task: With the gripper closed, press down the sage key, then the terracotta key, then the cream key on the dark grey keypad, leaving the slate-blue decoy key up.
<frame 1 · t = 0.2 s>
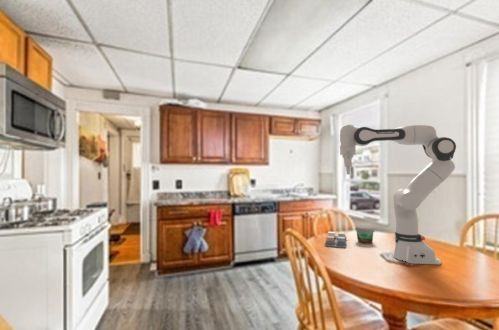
hand: (348, 174, 163), 48 cm above the table, fingers open, 8 cm apart
keypad base: (336, 242, 187), on the table
cream key: (331, 234, 195), point 4 cm above the table, slide at 0.0 cm
terracotta key: (330, 238, 182), point 4 cm above the table, slide at 0.0 cm
food container: (365, 243, 185), on the table
sage key: (341, 234, 193), point 4 cm above the table, slide at 0.0 cm
slate key: (341, 239, 179), point 4 cm above the table, slide at 0.0 cm
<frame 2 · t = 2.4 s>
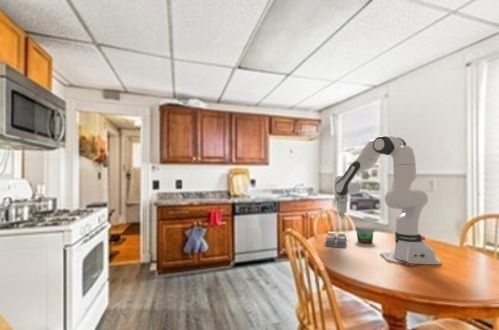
hand: (341, 217, 193), 16 cm above the table, fingers open, 6 cm apart
nothing on the table moved.
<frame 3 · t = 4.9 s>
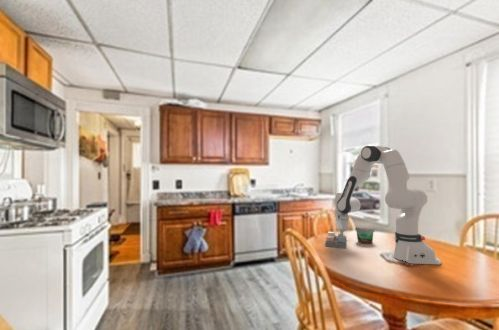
hand: (341, 234, 193), 4 cm above the table, fingers closed, pressing on sage key
sage key: (341, 236, 193), point 3 cm above the table, slide at 0.9 cm, touching gripper
everything else where it was.
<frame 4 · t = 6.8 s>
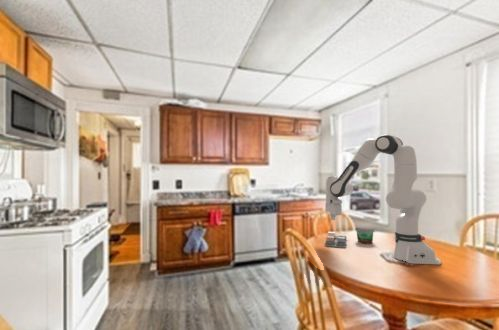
hand: (333, 219, 185), 16 cm above the table, fingers closed
sage key: (341, 236, 193), point 2 cm above the table, slide at 1.4 cm
everything else where it was.
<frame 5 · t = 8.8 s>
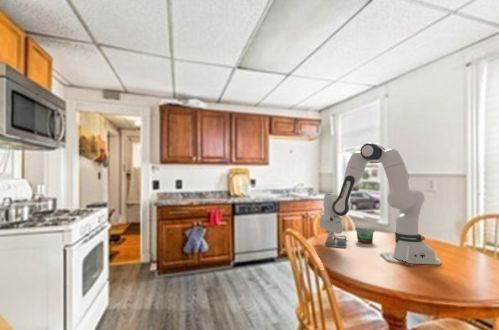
hand: (330, 237, 182), 5 cm above the table, fingers closed
terracotta key: (330, 239, 182), point 3 cm above the table, slide at 0.4 cm, touching gripper
everything else where it was.
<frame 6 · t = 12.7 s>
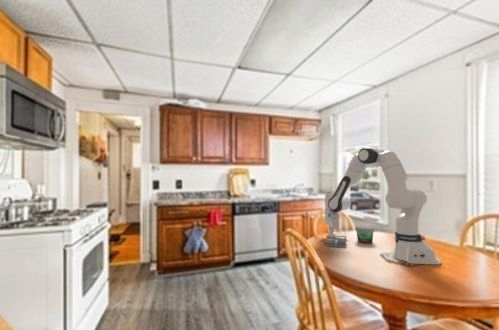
hand: (331, 232, 195), 5 cm above the table, fingers closed, pressing on cream key
cream key: (331, 234, 195), point 4 cm above the table, slide at 0.2 cm, touching gripper
terracotta key: (330, 240, 182), point 2 cm above the table, slide at 1.5 cm
everything else where it was.
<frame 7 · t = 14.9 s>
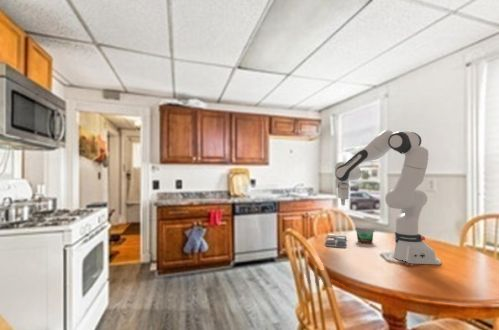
hand: (343, 205, 186), 26 cm above the table, fingers closed
cream key: (331, 236, 195), point 2 cm above the table, slide at 1.4 cm
everything else where it was.
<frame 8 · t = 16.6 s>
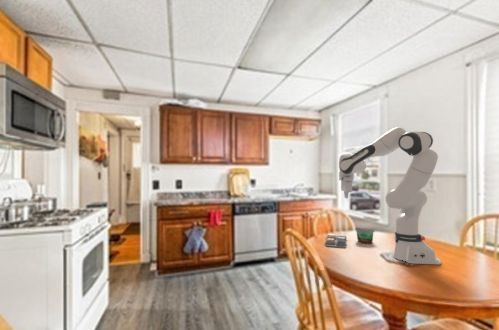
hand: (346, 198, 184), 31 cm above the table, fingers closed
nothing on the table moved.
at the end: sage key slide at 1.4 cm; terracotta key slide at 1.5 cm; cream key slide at 1.4 cm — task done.
